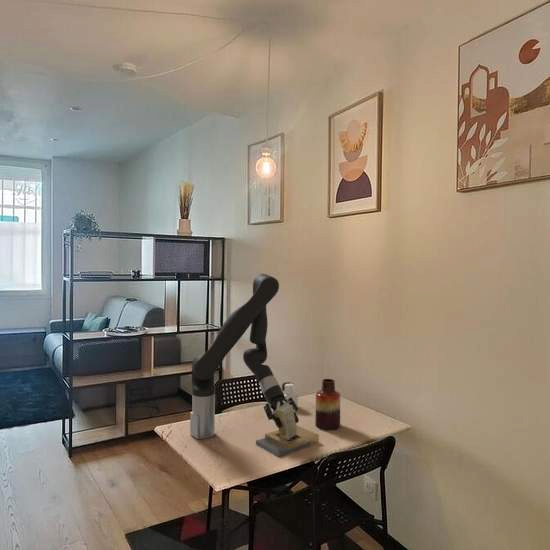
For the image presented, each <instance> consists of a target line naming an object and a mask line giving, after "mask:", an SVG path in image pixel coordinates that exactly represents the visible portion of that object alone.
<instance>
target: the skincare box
mask: <svg viewBox="0 0 550 550" xmlns="http://www.w3.org/2000/svg"><path fill="white" fill-rule="evenodd" d="M276 414H277V416H278V417H279V419H280V421H281V423H282V427H281V428H278V430H279V434H280V438H282V439H284V440H285V441H290V440H291V438H292V437H293V436H294V435H296V434H297V429H296V425H297V423H295V417H294V411H293V405H289V404H283V405H282V406H280V407H279V408H278V409H276Z"/></svg>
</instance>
